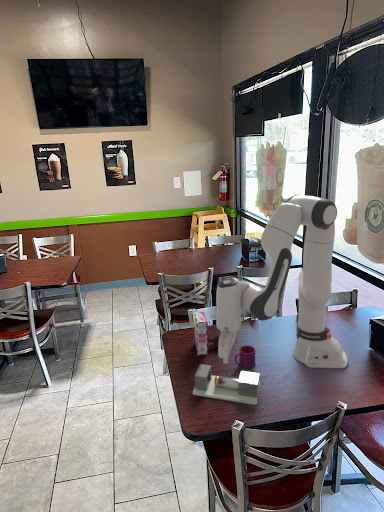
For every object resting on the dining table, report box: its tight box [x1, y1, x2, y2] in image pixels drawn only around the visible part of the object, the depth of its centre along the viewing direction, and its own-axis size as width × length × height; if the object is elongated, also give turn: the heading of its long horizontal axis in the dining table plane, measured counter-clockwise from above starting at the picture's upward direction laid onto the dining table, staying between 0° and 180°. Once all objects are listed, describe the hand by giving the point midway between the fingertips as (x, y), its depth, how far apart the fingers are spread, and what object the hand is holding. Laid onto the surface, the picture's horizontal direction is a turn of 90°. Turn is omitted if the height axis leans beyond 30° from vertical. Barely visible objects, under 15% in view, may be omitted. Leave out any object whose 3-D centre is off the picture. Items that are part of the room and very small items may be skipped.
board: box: [192, 374, 261, 406], centre depth 138 cm, size 24×12×1 cm, turn 74°
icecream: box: [207, 331, 221, 351], centre depth 167 cm, size 7×7×15 cm
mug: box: [234, 344, 256, 369], centre depth 152 cm, size 7×10×7 cm
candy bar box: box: [194, 311, 209, 356], centre depth 164 cm, size 11×5×16 cm, turn 5°
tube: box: [214, 375, 239, 390], centre depth 136 cm, size 15×4×4 cm, turn 74°
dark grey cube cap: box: [238, 370, 260, 399], centre depth 134 cm, size 7×7×6 cm
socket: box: [194, 363, 212, 391], centre depth 139 cm, size 4×8×6 cm, turn 164°
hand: (228, 355), depth 133 cm, fingers open, 8 cm apart
